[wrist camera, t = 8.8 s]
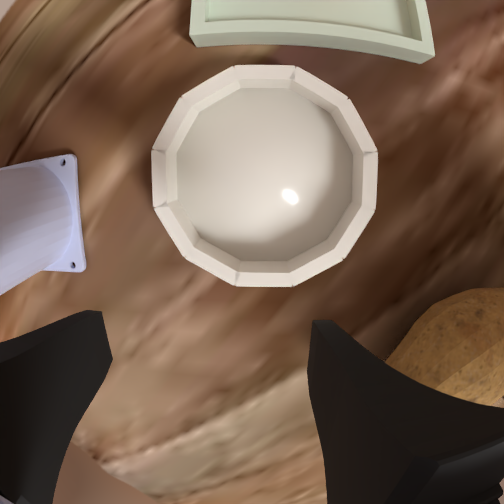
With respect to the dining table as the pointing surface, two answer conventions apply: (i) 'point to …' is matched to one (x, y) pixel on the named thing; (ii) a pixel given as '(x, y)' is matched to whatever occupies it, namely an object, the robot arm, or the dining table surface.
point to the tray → (317, 25)
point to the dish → (264, 175)
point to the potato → (458, 346)
